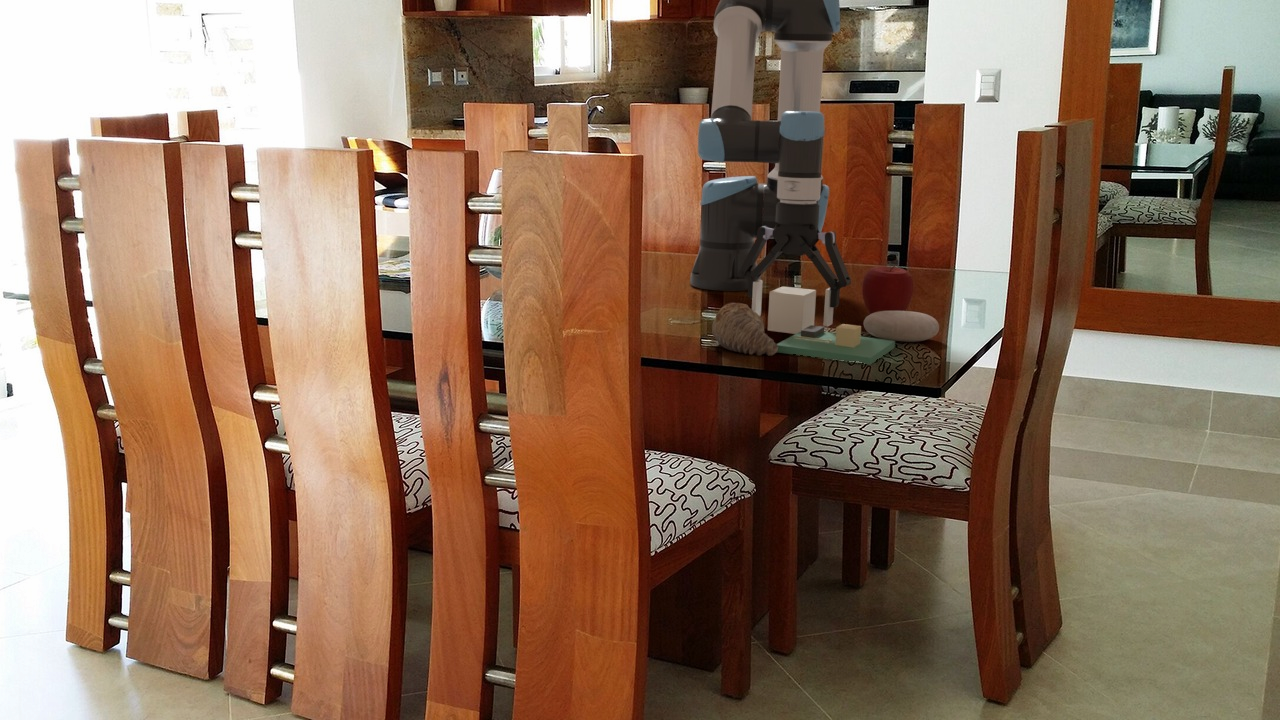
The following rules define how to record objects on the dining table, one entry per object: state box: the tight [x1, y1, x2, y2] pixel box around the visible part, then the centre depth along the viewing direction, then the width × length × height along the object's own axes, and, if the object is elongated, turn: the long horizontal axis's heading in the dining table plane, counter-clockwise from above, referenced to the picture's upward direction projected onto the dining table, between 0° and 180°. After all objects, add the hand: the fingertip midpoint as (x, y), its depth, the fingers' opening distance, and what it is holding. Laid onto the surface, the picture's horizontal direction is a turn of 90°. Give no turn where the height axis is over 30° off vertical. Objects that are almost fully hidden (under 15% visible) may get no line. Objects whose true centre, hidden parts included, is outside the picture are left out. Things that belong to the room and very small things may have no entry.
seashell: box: [711, 302, 779, 357], centre depth 184 cm, size 14×10×10 cm
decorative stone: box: [863, 310, 940, 343], centre depth 192 cm, size 13×9×5 cm
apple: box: [861, 265, 915, 315], centre depth 209 cm, size 10×10×10 cm
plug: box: [767, 286, 817, 335], centre depth 198 cm, size 6×7×7 cm
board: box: [776, 323, 896, 366], centre depth 183 cm, size 16×14×4 cm
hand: (791, 320), depth 198 cm, fingers open, 13 cm apart
